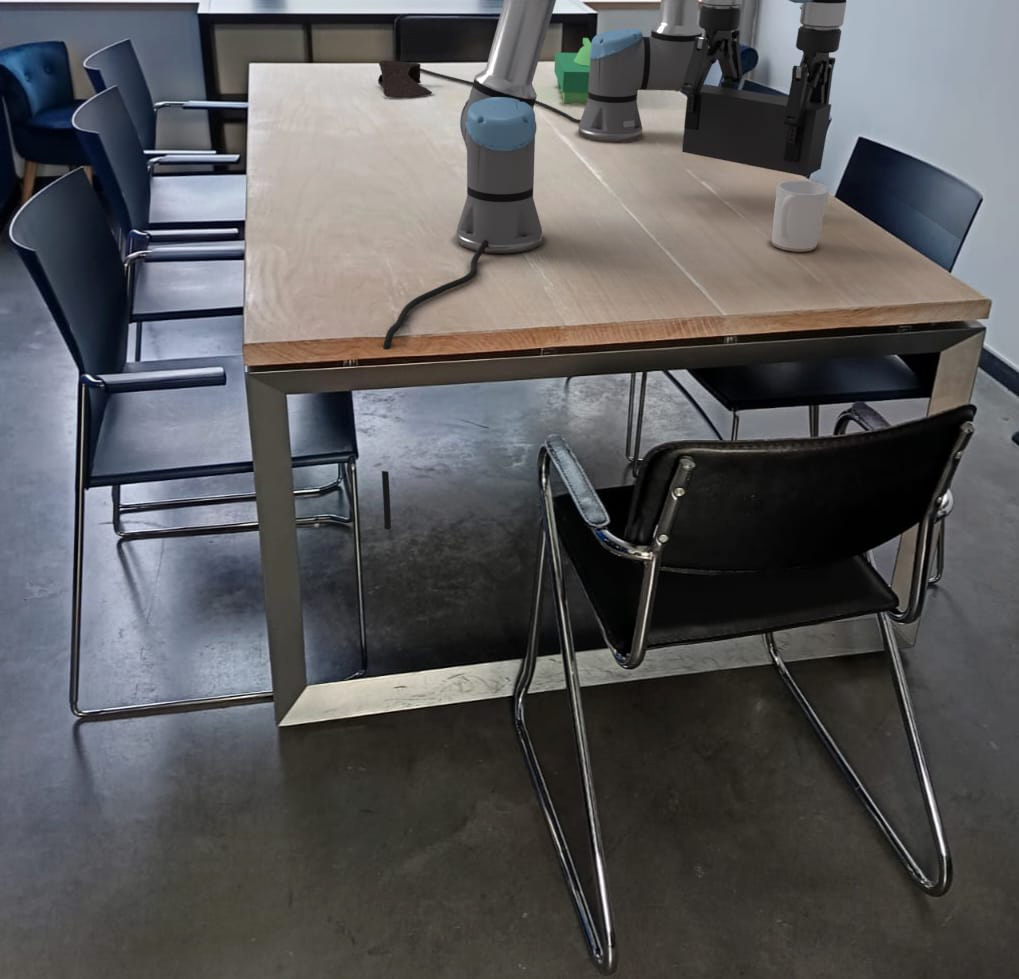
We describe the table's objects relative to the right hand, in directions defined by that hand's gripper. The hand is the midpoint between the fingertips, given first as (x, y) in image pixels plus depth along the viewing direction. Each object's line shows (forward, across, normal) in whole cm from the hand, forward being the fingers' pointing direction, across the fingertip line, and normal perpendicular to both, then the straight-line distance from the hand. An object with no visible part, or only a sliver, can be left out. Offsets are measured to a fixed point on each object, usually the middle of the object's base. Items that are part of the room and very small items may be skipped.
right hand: (708, 123), depth 215 cm
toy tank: (+14, -66, -71) cm, 98 cm away
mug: (+14, +18, +28) cm, 36 cm away
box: (+6, 0, +10) cm, 11 cm away
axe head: (+14, -33, -110) cm, 115 cm away
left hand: (+3, 0, +20) cm, 20 cm away
